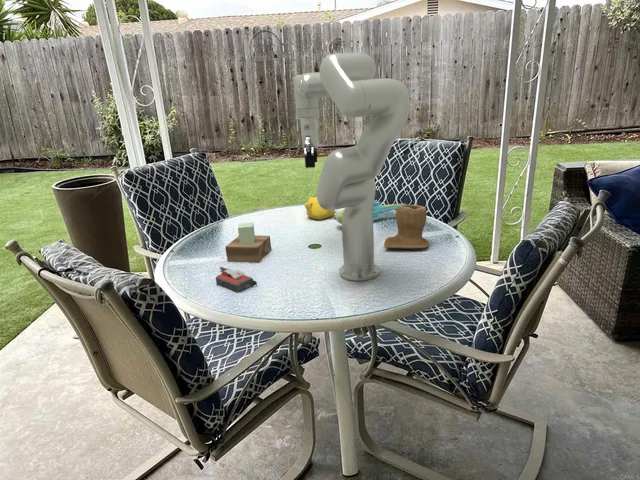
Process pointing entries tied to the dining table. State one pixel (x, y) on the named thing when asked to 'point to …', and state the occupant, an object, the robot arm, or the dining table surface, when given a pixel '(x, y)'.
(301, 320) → the dining table surface
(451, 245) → the dining table surface
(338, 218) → the decorative bird
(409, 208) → the clay spout
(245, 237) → the sage block
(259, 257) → the walnut box
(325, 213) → the teapot
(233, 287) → the walkie-talkie
